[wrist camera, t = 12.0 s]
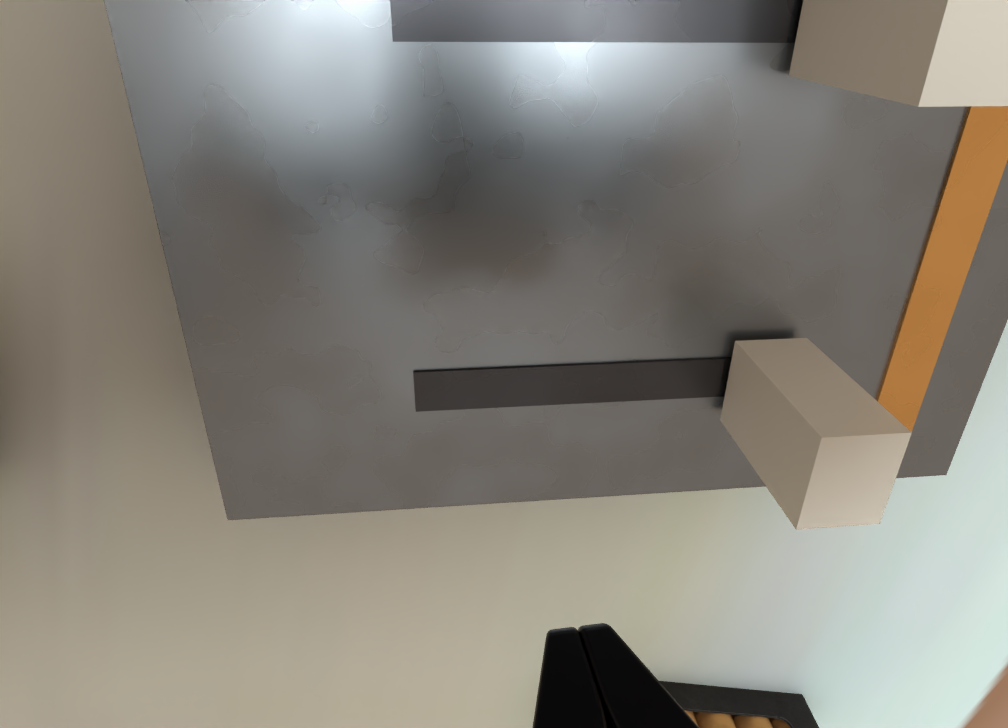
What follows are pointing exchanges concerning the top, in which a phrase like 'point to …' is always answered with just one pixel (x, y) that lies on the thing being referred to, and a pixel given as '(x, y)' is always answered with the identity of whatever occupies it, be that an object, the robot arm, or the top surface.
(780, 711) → the cigar case
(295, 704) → the top surface
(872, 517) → the block
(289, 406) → the switch panel
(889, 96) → the block
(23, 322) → the top surface
